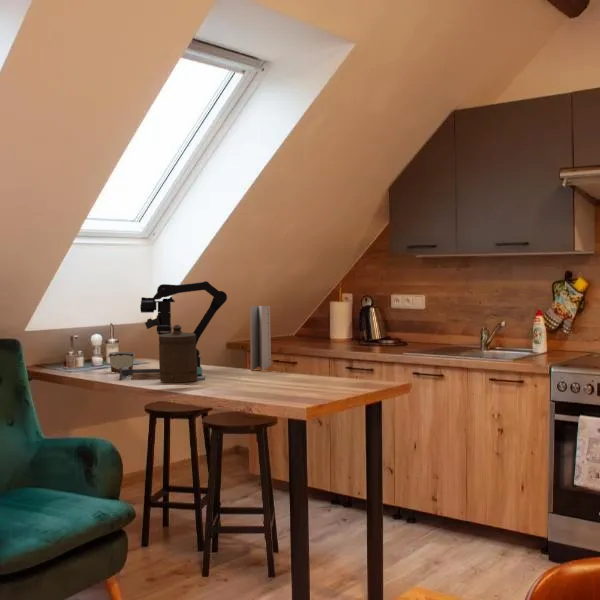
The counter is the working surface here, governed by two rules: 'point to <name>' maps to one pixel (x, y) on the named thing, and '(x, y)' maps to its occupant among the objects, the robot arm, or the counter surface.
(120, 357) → the food container
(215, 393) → the counter surface
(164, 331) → the robot arm
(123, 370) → the rack
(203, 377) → the mat
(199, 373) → the block
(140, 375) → the offcut top
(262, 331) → the grey tall angular piece
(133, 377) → the board
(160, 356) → the wooden container
